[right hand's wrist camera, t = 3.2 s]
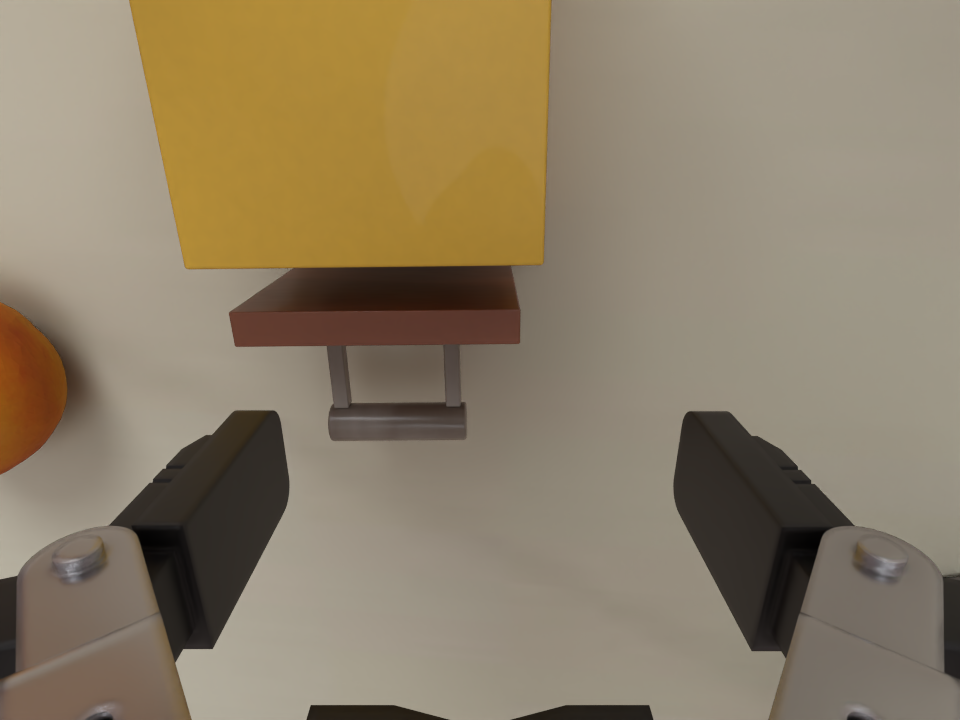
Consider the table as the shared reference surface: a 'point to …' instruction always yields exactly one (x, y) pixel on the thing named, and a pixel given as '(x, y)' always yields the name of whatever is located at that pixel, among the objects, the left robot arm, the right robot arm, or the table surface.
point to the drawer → (385, 333)
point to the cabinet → (351, 129)
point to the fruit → (27, 388)
